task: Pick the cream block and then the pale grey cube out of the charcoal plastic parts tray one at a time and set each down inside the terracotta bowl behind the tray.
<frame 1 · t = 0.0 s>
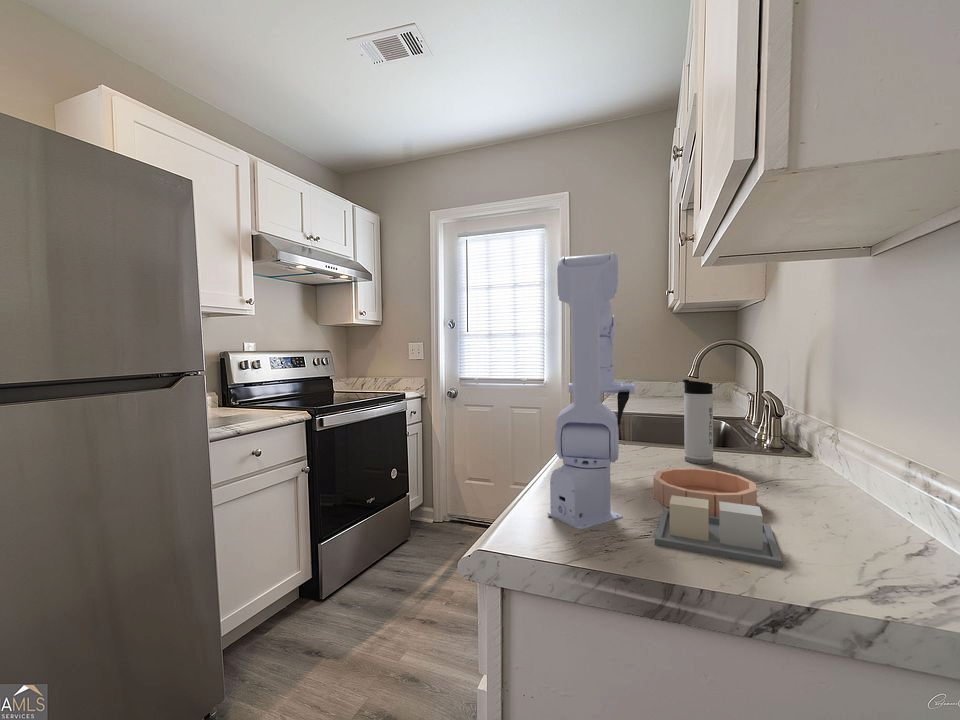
hand: (601, 422, 101), 11 cm above the counter, tool pointing down, fingers open, 7 cm apart
cream block: (689, 532, 64), resting in tray
travel mug: (697, 461, 106), on the counter
bowl: (703, 502, 77), on the counter
tray: (714, 539, 62), on the counter
pale grey cube: (739, 541, 61), resting in tray
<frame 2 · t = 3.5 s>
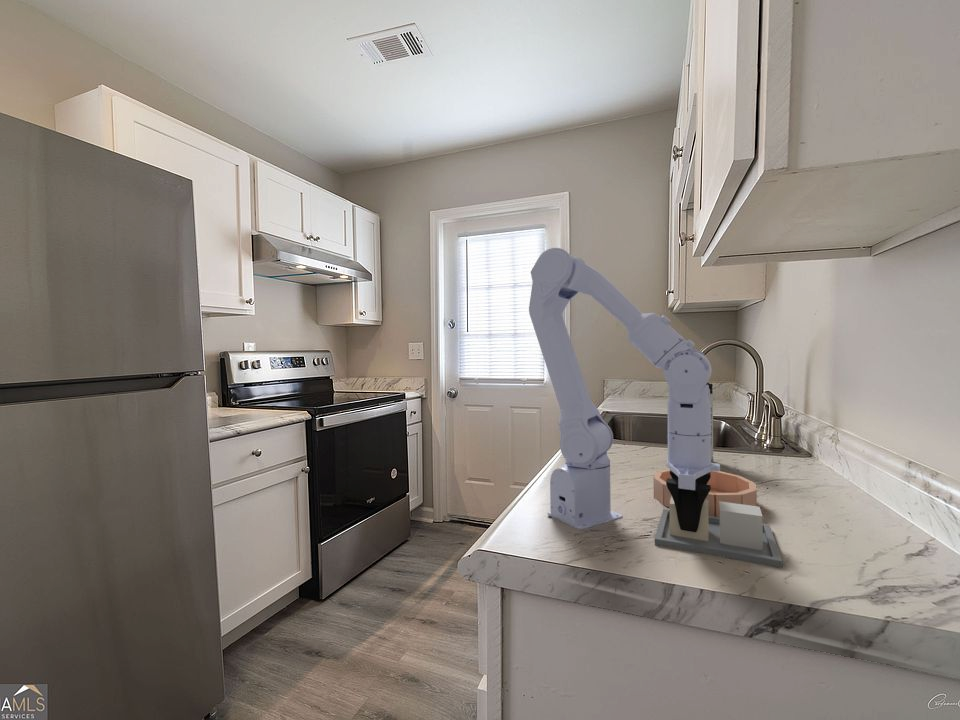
hand: (689, 524, 64), 2 cm above the counter, tool pointing down, fingers closed on cream block, 4 cm apart
cream block: (689, 532, 64), resting in tray, touching gripper
everything else where it was.
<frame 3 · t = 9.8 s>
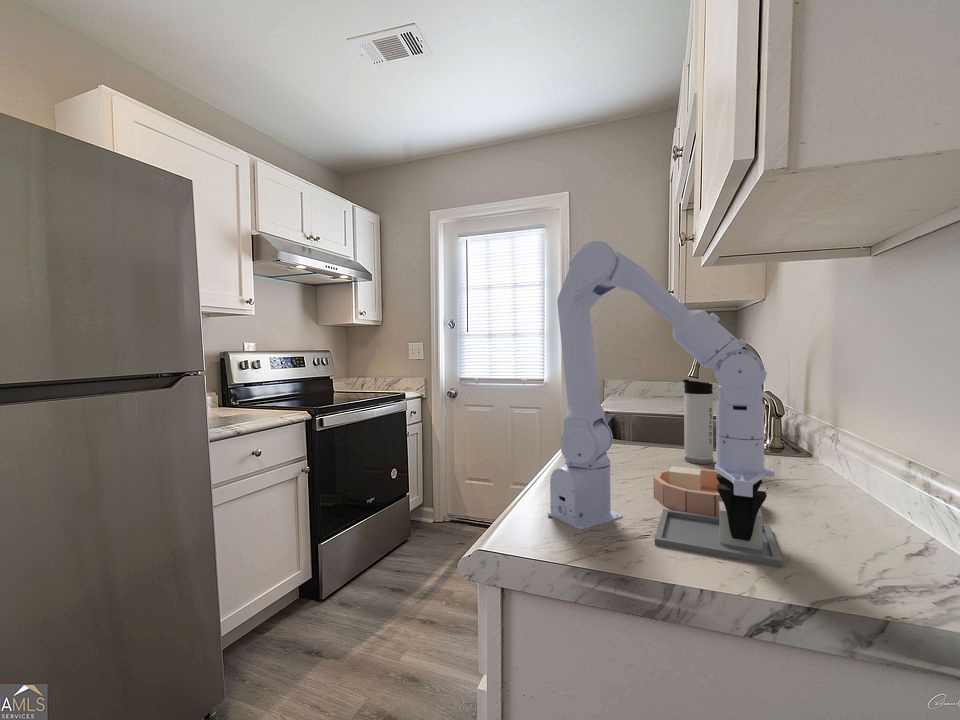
hand: (739, 532, 61), 2 cm above the counter, tool pointing down, fingers closed on pale grey cube, 4 cm apart
cream block: (685, 495, 79), point 1 cm above the counter, touching bowl
pale grey cube: (739, 541, 61), resting in tray, touching gripper
everything else where it was.
when the fingers open (5 cm above the counter, at t = 13.0 s): pale grey cube drops 2 cm, resting on bowl.
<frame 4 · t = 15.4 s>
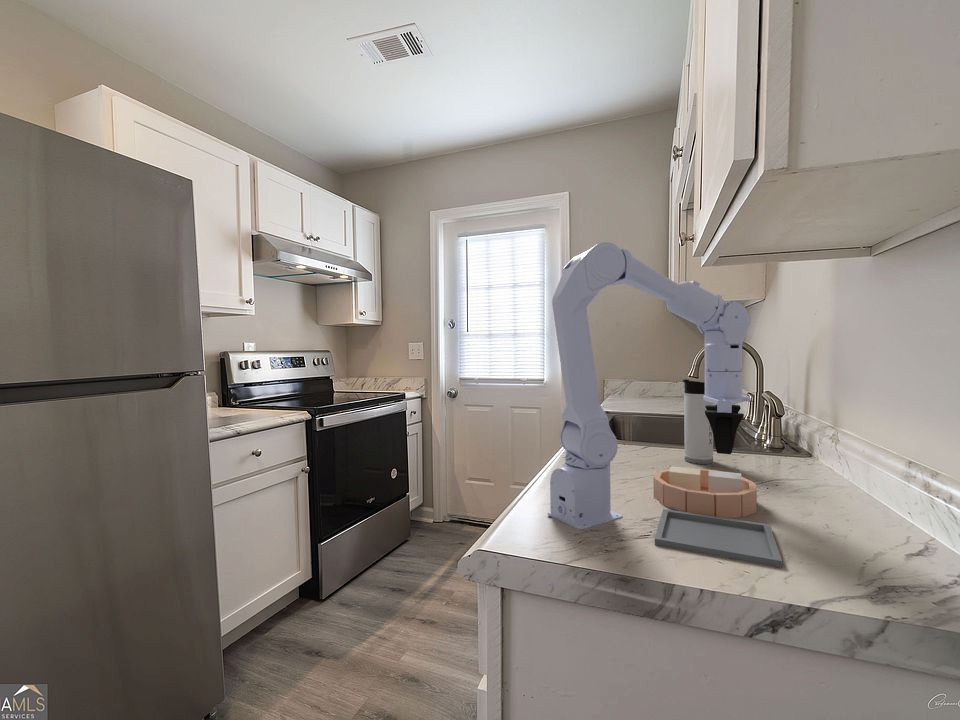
hand: (723, 448, 76), 10 cm above the counter, tool pointing down, fingers open, 7 cm apart
pale grey cube: (724, 500, 76), point 1 cm above the counter, touching bowl
everything else where it was.
at the end: cream block inside the target area on the bowl (3.0 cm from its centre), point 0.8 cm above the bowl's base; pale grey cube inside the target area on the bowl (3.4 cm from its centre), point 0.8 cm above the bowl's base; the gripper is holding nothing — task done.
